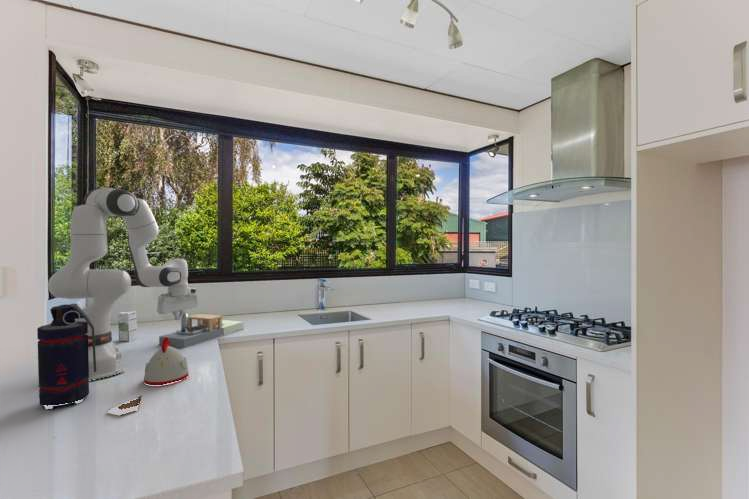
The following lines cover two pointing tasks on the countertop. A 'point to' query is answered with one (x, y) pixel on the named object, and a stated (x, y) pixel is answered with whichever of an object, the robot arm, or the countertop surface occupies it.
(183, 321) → the slider
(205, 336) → the tunnel deck
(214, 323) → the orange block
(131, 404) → the shard
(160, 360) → the grey dome
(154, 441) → the countertop surface
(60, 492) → the countertop surface
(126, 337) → the syrup box
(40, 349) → the grenade
